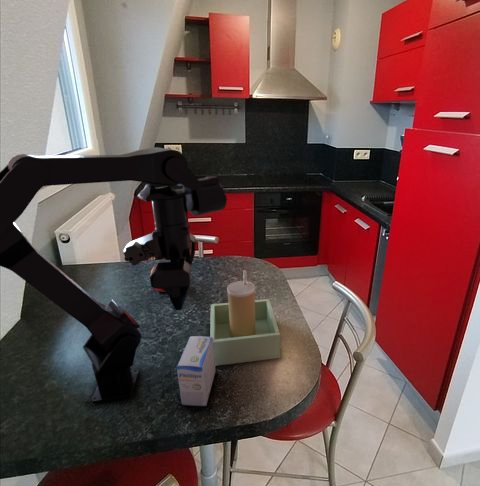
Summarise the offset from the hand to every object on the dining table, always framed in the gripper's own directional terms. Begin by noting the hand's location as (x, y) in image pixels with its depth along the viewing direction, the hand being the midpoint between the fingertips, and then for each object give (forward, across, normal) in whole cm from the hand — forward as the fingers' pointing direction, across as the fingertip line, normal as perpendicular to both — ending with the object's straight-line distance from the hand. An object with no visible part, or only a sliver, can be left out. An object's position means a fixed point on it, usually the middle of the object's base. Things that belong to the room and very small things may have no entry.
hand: (181, 296), depth 63 cm
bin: (+13, -1, +12) cm, 18 cm away
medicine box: (+13, +11, +3) cm, 17 cm away
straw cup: (+12, -2, +12) cm, 17 cm away
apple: (+13, -28, -8) cm, 32 cm away
